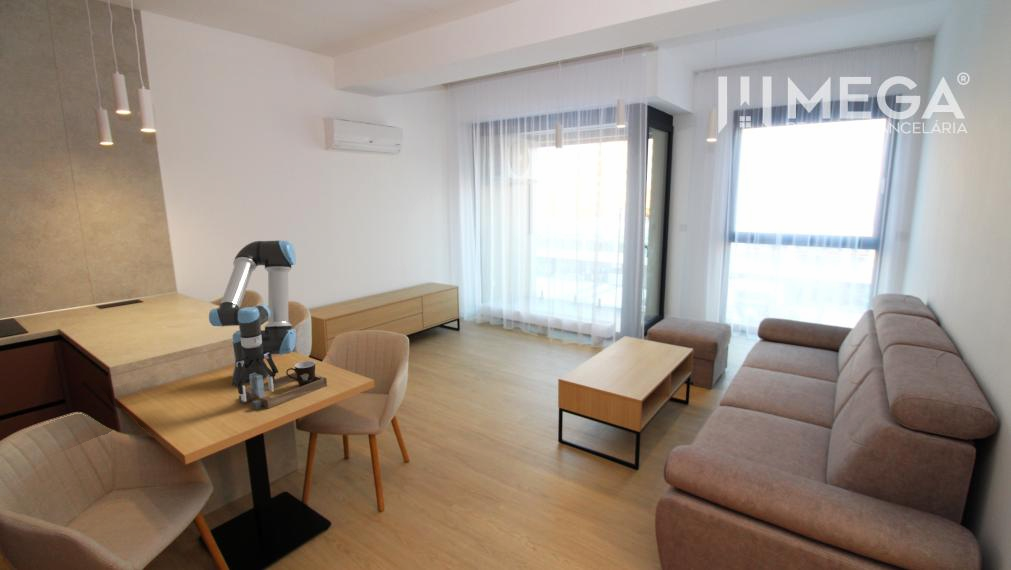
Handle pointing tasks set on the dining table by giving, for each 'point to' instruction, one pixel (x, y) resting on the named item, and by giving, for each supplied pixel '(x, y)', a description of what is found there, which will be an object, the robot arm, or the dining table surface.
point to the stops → (255, 404)
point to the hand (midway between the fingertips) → (258, 395)
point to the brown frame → (259, 387)
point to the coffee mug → (304, 372)
